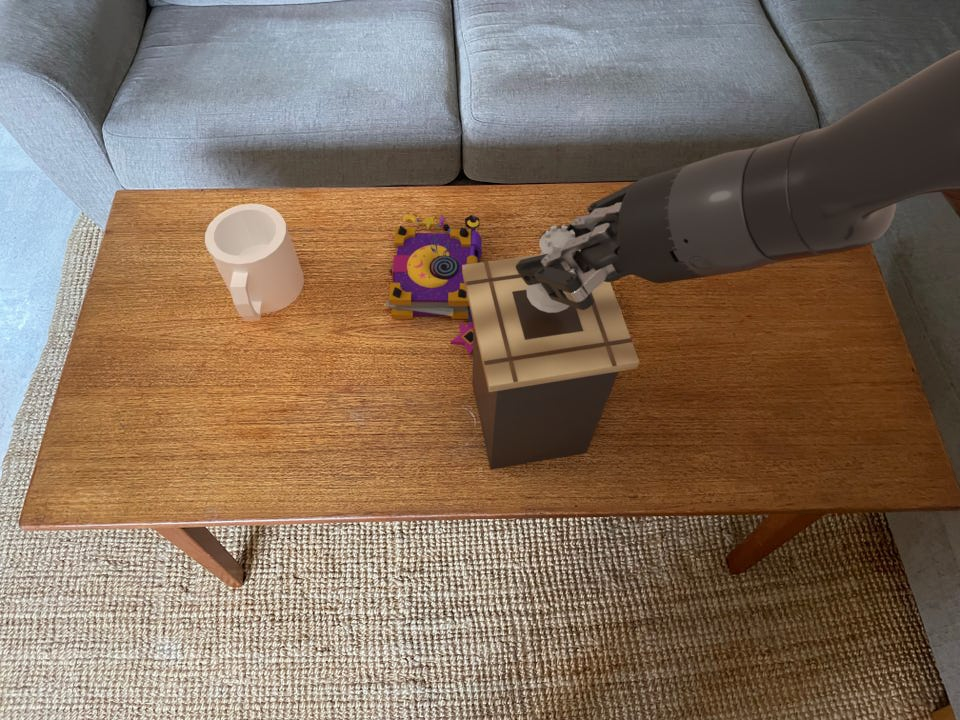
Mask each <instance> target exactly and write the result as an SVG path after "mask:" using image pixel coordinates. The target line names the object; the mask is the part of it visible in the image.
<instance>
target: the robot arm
mask: <svg viewBox="0 0 960 720" xmlns="http://www.w3.org/2000/svg"><path fill="white" fill-rule="evenodd" d="M932 193H933V194H934V193H941V195H942V196H943V197H944V199H945V200H946V202H947V204H948V205H949V206H950V207H951V208H952V210H953V211H954V212H955V214H956V215H957V216H958V218H959V219H960V49H958V50H956V51H955V52H953V53H951V54H949V55H947V56H944V57H943V58H942V59H939V60H938V61H936V62H934V63H932V64H931V65H929V66H927V67H926V68H924V69H922V70H921V71H919V72H917V73H915V74H913V75H912V76H911V77H909V78H907V79H905V80H904V81H902V82H900V83H898V84H897V85H895V86H894V87H892V88H890V89H888V90H887V91H885V92H882V93H881V94H880V95H877V96H876V97H874V98H872V99H871V100H869V101H867V102H866V103H864V104H862V105H861V106H859V107H857V108H856V109H854V110H853V111H851V112H850V113H848V114H846V115H844V116H843V117H841V118H840V119H838V120H836V121H835V122H833V123H831V124H829V125H827V126H825V127H820V128H816V129H812V130H809V131H805V132H802V133H799V134H796V135H792V136H790V137H786V138H783V139H780V140H776V141H773V142H770V143H769V142H768V143H767V144H763V145H760V146H756V147H751V148H746V149H738V150H733V151H732V150H731V151H727V152H724V153H720V154H718V155H714V156H711V157H708V158H705V159H702V160H699V161H695V162H691V163H688V164H684V165H682V166H679V167H676V168H673V169H670V170H666V171H663V172H660V173H655V174H653V175H652V174H649V175H645V176H644V177H642V178H640V179H638V180H637V181H635V182H632V183H630V184H629V185H626V186H625V187H623V188H621V189H619V190H617V191H615V192H612V193H610V194H608V195H606V196H604V197H602V198H600V199H598V200H596V201H594V202H592V203H591V204H590V205H589V206H588V207H587V212H588V214H585V215H580V216H577V217H575V218H573V221H571V223H569V224H565V225H564V226H568V227H567V231H569V232H570V231H571V230H573V231H574V233H575V237H576V238H574V239H571V240H568V241H567V242H566V244H565V246H564V247H563V249H561V250H558V251H555V252H553V253H550V254H544V255H539V256H535V257H531V258H526V259H522V260H520V261H519V263H518V264H517V265H516V270H517V271H518V273H519V275H520V276H521V277H522V279H523V280H524V281H525V283H526V284H527V285H534V284H540V283H541V285H542V286H543V287H544V289H545V290H546V292H547V293H548V295H549V297H550V298H551V299H552V300H554V301H557V302H560V303H563V304H566V305H568V306H571V307H574V308H577V309H580V310H585V309H587V308H589V307H590V306H591V305H592V304H593V303H594V299H593V298H592V296H591V292H592V291H593V290H594V289H595V288H596V287H597V286H598V285H600V284H601V283H602V282H603V281H605V282H610V283H613V282H616V281H618V280H620V279H622V278H625V277H628V276H631V275H632V276H635V277H638V278H641V279H643V280H645V281H647V282H650V283H653V284H667V283H674V282H681V281H688V280H695V279H701V278H707V277H714V276H715V277H716V276H721V275H728V274H729V275H730V274H737V273H742V272H747V271H752V270H755V269H758V268H762V267H766V266H769V265H772V264H777V263H782V262H787V261H795V260H801V259H806V258H807V259H808V258H815V257H821V256H828V255H833V254H840V253H845V252H851V251H853V250H854V251H855V250H857V249H858V250H859V249H861V248H864V247H866V246H869V245H871V244H873V243H875V242H876V241H877V240H878V239H880V238H881V237H883V235H884V234H885V233H886V232H887V230H888V229H889V227H890V226H891V224H892V221H893V219H894V217H895V214H896V209H897V203H900V202H902V201H904V200H907V199H910V198H913V197H917V196H921V195H926V194H932ZM561 227H562V225H561V226H557V229H561ZM547 230H548V231H550V229H547ZM547 230H544V231H543V232H542V234H541V235H540V236H539V240H540V239H541V236H542V235H544V234H545V233H546V231H547ZM579 250H580V251H579ZM560 262H566V263H567V264H568V265H569V267H570V268H571V270H568V271H566V270H565V269H564V267H563V266H562V264H561V263H560Z"/></svg>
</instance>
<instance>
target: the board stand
mask: <svg viewBox="0 0 960 720" xmlns="http://www.w3.org/2000/svg"><path fill="white" fill-rule="evenodd" d="M619 372H620V371H618V372H612V373H605V374H599V375H593V376H587V377H581V378H574V379H568V380H562V381H556V382H550V383H543V384H537V385H531V386H525V387H519V388H512V389H506V390H500V391H494V392H489V390H488V385H487V381H486V376H485V372H484V368H483V363H482V359H481V354H480V350H479V345H478V341H477V336H476V332H475V327H474V323H473V352H472V388H473V393H474V398H475V402H476V408H477V412H478V416H479V421H480V426H481V431H482V436H483V442H484V445H485V449H486V455H487V459H488V460H487V461H488V464H489V469H490V470H497V469H503V468H507V467H508V468H509V467H513V466H520V465H524V464H530V463H531V464H532V463H537V462H543V461H547V460H554V459H559V458H566V457H572V456H576V455H583V454H586V453H587V452H588V450H589V448H590V445H591V442H592V440H593V438H594V436H595V432H596V430H597V427H598V425H599V423H600V421H601V418H602V415H603V412H604V410H605V408H606V405H607V402H608V400H609V398H610V395H611V393H612V390H613V388H614V385H615V382H616V381H617V377H618V375H619Z"/></svg>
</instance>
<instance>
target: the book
mask: <svg viewBox="0 0 960 720" xmlns="http://www.w3.org/2000/svg"><path fill="white" fill-rule="evenodd" d="M436 218H437V217H436V215H433V216H431V217H428V216H426V215H424V214H423V219H424V220H420V219H418V218H417V216H415V215H413V214H407V215H405V216H403V218H402V221H403V223H405V222H406V221H409V220H410V221H412V223H413V224H415V223H416V222H417V223H418V226H425V227H426V229H427V231H429V230H430V228H431V227H441V228H442V230H443V231H444V232H440V233H438V232H417V230H416V227H413V226H412V227H410V226H409V227H408V226H407V227H406V226H405V227H403V226H402V225H400V226H395V230H394V239H393V240H394V241H393V245H394V249H396V254H394V256H393V261H392V263H393V264H392V266H391V268H390V269H389V273H390V275H391V279H392V282H389V292H388V299H387V300H386V302H385V303H384V304H383V305H382V306H383V307H384V308H391V312H390V315H391V316H390V317H391V319H399V320H413V319H414V316H415V317H450V319H451V320H468V321H467V323H466V324H463V323H462V322H458V327H459V330H460V334H458V335H457V336H456V337H454V338H453V339H452V340H450V345H452V346H453V345H454V346H463V347H464V348H465V349H466V351H467V354H468V357H471V356H472V355H473V318H472V314H471V309H470V305H469V300H468V296H467V291H466V287H465V283H464V278H463V274H462V265H466V264H473V263H479V262H480V259H481V258H482V255H483V239H482V235H481V234H480V232H478V231H477V230H476V229H477V228H479V227H480V218H479V217H477V216H475V215H474V214H471V215H469V216H467V217H465V218H464V225H465V227H460V228H451V227H450V225H449V224H447V223H444V222H445V220H446V218H445V217H444V216H443V215H442V216H440V217H439V223H438V222H436V221H435V220H436Z"/></svg>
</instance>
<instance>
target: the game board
mask: <svg viewBox="0 0 960 720" xmlns="http://www.w3.org/2000/svg"><path fill="white" fill-rule="evenodd" d="M579 251H580V250H579ZM540 254H541V253H537V254H532V255H524V256H516V257H509V258H503V259H496V260H495V259H494V260H483V261H482V262H481V261H479V262H478V263H473V264H466V265H462V274H463V278H464V283H465V287H466V291H467V296H468V300H469V305H470V309H471V314H472V318H473V323H474V327H475V332H476V336H477V341H478V345H479V350H480V354H481V359H482V363H483V368H484V372H485V376H486V381H487V385H488V390H489V392H494V391H500V390H506V389H512V388H519V387H525V386H531V385H537V384H543V383H550V382H556V381H562V380H568V379H574V378H581V377H587V376H593V375H599V374H605V373H612V372H618V371H619V372H622V371H629V370H636V369H638V367H639V364H640V360H639V356H638V354H637V351H636V348H635V345H634V341H633V339H632V337H631V334H630V333H629V329H628V327H627V326H628V325H627V324H626V321H625V318H624V315H623V313H622V309H621V308H620V307H621V306H620V307H619V305H618V304H619V302H618V299H617V297H616V293H615V291H614V288H613V285H612V282H605V281H603V282H602V283H601V284H600V285H598V286H597V287H596V288H595V289H594V290H593V291H592V292H591V296H592V298H593V299H594V303H593V304H592V305H591V306H590V307H589V308H587V309H585V310H580V309H577V308H574V307H571V306H569V307H568V308H567V309H565V310H562V311H560V312H551V313H548V312H545V311H541V310H539V309H537V308H536V307H535V306H533V305H532V304H531V302H530V301H529V299H528V298H527V290H526V289H527V287H528V285H527V284H526V283H525V281H524V280H523V279H522V277H521V276H520V275H519V273H518V271H517V270H516V265H517V264H518V263H519V261H520V260H522V259H526V258H531V257H535V256H539V255H540ZM570 270H571V268H570ZM614 293H615V294H614ZM620 309H621V310H620Z"/></svg>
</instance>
